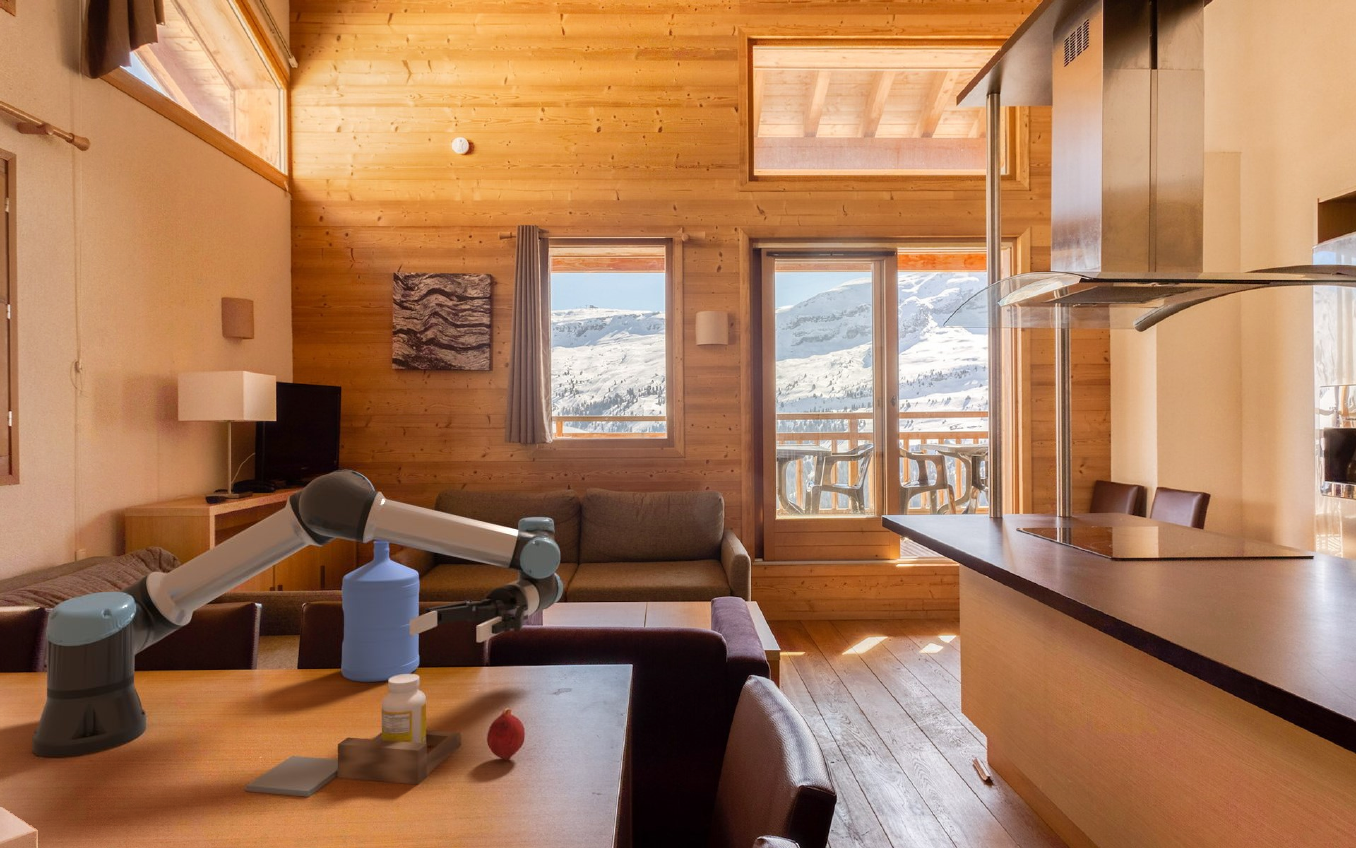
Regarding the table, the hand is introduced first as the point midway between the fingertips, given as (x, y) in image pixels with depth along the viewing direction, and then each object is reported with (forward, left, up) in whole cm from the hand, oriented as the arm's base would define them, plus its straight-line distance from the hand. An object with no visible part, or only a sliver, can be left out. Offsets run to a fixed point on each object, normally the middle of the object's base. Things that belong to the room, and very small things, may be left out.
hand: (444, 630), depth 128 cm
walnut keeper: (-2, -10, -18) cm, 20 cm away
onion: (+14, -7, -18) cm, 24 cm away
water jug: (-29, +29, -18) cm, 45 cm away
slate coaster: (-14, -18, -18) cm, 29 cm away
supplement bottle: (-2, -10, -18) cm, 21 cm away
